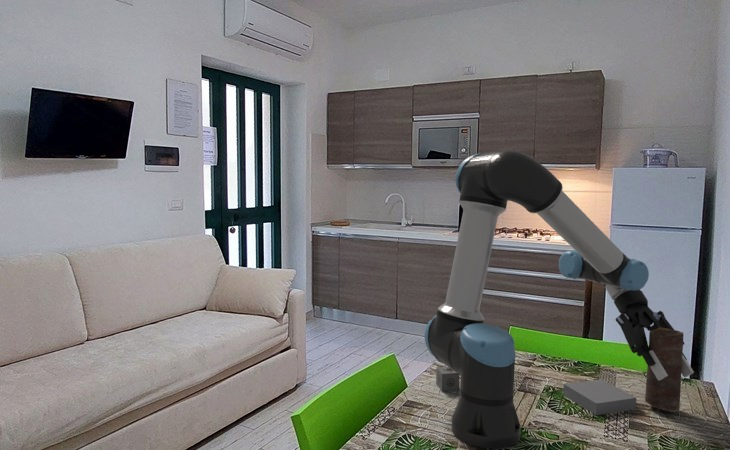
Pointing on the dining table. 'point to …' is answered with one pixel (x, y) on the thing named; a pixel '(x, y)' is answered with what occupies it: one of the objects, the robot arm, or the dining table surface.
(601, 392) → the stand
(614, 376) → the dining table surface
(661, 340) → the candle
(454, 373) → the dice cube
